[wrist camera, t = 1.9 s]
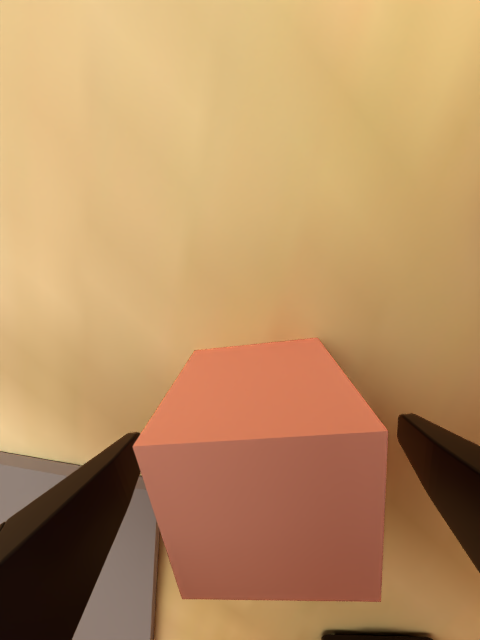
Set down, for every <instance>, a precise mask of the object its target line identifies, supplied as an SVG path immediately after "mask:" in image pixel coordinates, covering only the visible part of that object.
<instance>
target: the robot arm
mask: <svg viewBox="0 0 480 640" xmlns="http://www.w3.org/2000/svg"><path fill="white" fill-rule="evenodd" d="M139 436H140V433H139V432H133V433H128V434H126V435H125V436H123V437H122V438H120V439H119V440H118V441H116V442H115V443H113V444H112V445H111V446H109V447H108V448H106V449H105V450H104V451H102V452H101V453H99V454H98V455H97V456H95V457H94V458H92V459H91V460H90V461H88V462H87V463H85V464H84V465H83V466H81V467H80V468H78V469H77V470H76V471H74V472H73V473H71V474H70V475H69V476H67V477H66V478H64V479H63V480H62V481H60V482H59V483H57V484H56V485H55V486H53V487H52V488H50V489H49V490H48V491H46V492H45V493H43V494H42V495H41V496H39V497H38V498H36V499H35V500H34V501H32V502H31V503H29V504H28V505H27V506H25V507H24V508H22V509H21V510H20V511H18V512H17V513H15V514H14V515H13V516H11V517H10V518H8V519H7V521H6V522H3V523H1V524H0V640H72V638H73V636H74V634H75V631H76V629H77V627H78V624H79V622H80V620H81V617H82V615H83V613H84V610H85V608H86V606H87V603H88V601H89V599H90V596H91V594H92V592H93V589H94V587H95V585H96V582H97V580H98V578H99V575H100V573H101V571H102V568H103V566H104V563H105V561H106V559H107V556H108V554H109V552H110V549H111V547H112V545H113V542H114V540H115V538H116V535H117V533H118V531H119V528H120V526H121V524H122V521H123V519H124V517H125V514H126V512H127V509H128V507H129V504H130V502H131V499H132V496H133V493H134V490H135V487H136V484H137V481H138V478H139V475H140V472H141V471H140V468H139V465H138V462H137V459H136V456H135V453H134V450H133V447H132V446H133V445H134V443H135V442H136V440H137V439H138V437H139ZM397 437H398V440H399V443H400V445H401V447H402V448H403V450H404V452H405V454H406V456H407V458H408V459H409V461H410V463H411V465H412V467H413V469H414V470H415V472H416V474H417V476H418V478H419V480H420V481H421V483H422V485H423V487H424V489H425V490H426V492H427V494H428V495H429V497H430V498H431V500H432V502H433V503H434V505H435V506H436V508H437V509H438V511H439V512H440V514H441V515H442V517H443V518H444V520H445V521H446V523H447V524H448V526H449V527H450V529H451V530H452V532H453V533H454V535H455V536H456V538H457V539H458V541H459V542H460V544H461V545H462V547H463V549H464V550H465V552H466V553H467V555H468V556H469V558H470V559H471V561H472V562H473V564H474V565H475V567H476V568H477V570H478V571H479V573H480V446H478V445H476V444H474V443H472V442H470V441H468V440H466V439H464V438H462V437H460V436H458V435H456V434H454V433H452V432H450V431H448V430H446V429H444V428H442V427H440V426H438V425H436V424H434V423H432V422H430V421H428V420H426V419H424V418H422V417H420V416H418V415H415V414H401V415H399V417H398V428H397ZM321 640H433V639H431V638H428V637H397V636H361V635H324V636H323V637H322V638H321Z"/></svg>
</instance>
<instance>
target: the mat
mask: <svg viewBox="0 0 480 640" xmlns="http://www.w3.org/2000/svg"><path fill="white" fill-rule="evenodd" d="M80 467H81V466H79V465H73V464H67V463H62V462H56V461H50V460H44V459H39V458H33V457H27V456H22V455H16V454H10V453H4V452H0V524H1V523H3V522H6V521H7V519H8V518H10V517H11V516H13V515H14V514H15V513H17V512H18V511H20V510H21V509H22V508H24V507H25V506H27V505H28V504H29V503H31V502H32V501H34V500H35V499H36V498H38V497H39V496H41V495H42V494H43V493H45V492H46V491H48V490H49V489H50V488H52V487H53V486H55V485H56V484H57V483H59V482H60V481H62V480H63V479H64V478H66V477H67V476H69V475H70V474H71V473H73V472H74V471H76V470H77V469H78V468H80ZM159 534H160V530H159V526H158V523H157V520H156V517H155V514H154V511H153V508H152V505H151V502H150V499H149V496H148V493H147V490H146V487H145V483H144V480H143V477H141V476H139V478H138V481H137V484H136V487H135V490H134V493H133V496H132V499H131V502H130V504H129V507H128V509H127V512H126V514H125V517H124V519H123V521H122V524H121V526H120V528H119V531H118V533H117V535H116V538H115V540H114V542H113V545H112V547H111V549H110V552H109V554H108V556H107V559H106V561H105V563H104V566H103V568H102V571H101V573H100V575H99V578H98V580H97V582H96V585H95V587H94V589H93V592H92V594H91V596H90V599H89V601H88V603H87V606H86V608H85V610H84V613H83V615H82V617H81V620H80V622H79V624H78V627H77V629H76V631H75V634H74V636H73V638H72V640H153V638H154V620H155V603H156V586H157V569H158V551H159Z"/></svg>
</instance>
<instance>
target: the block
mask: <svg viewBox="0 0 480 640" xmlns="http://www.w3.org/2000/svg"><path fill="white" fill-rule="evenodd" d="M132 447H133V450H134V453H135V456H136V459H137V462H138V465H139V468H140V471H141V474H142V477H143V480H144V483H145V487H146V490H147V493H148V496H149V499H150V502H151V505H152V508H153V511H154V514H155V517H156V520H157V523H158V526H159V530H160V533H161V536H162V539H163V542H164V545H165V548H166V551H167V554H168V557H169V560H170V563H171V566H172V569H173V573H174V576H175V579H176V582H177V585H178V588H179V591H180V594H181V597H182V599H223V600H297V601H370V602H381V586H382V562H383V539H384V516H385V493H386V470H387V447H388V430H387V429H386V428H385V426H384V425H383V424H382V422H381V421H380V420H379V418H378V417H377V416H376V414H375V413H374V412H373V410H372V409H371V408H370V406H369V405H368V404H367V402H366V401H365V400H364V398H363V397H362V396H361V395H360V393H359V392H358V391H357V389H356V388H355V387H354V385H353V384H352V383H351V381H350V380H349V379H348V377H347V376H346V375H345V373H344V372H343V371H342V369H341V368H340V367H339V365H338V364H337V363H336V361H335V360H334V359H333V357H332V356H331V355H330V354H329V352H328V351H327V350H326V348H325V347H324V346H323V344H322V343H321V342H320V340H319V339H318V338H310V339H300V340H290V341H281V342H271V343H261V344H252V345H242V346H232V347H223V348H213V349H204V350H195V351H194V352H193V354H192V355H191V357H190V358H189V360H188V362H187V363H186V365H185V366H184V368H183V369H182V371H181V372H180V374H179V375H178V377H177V379H176V380H175V382H174V383H173V385H172V386H171V388H170V389H169V391H168V392H167V394H166V395H165V397H164V399H163V400H162V402H161V403H160V405H159V406H158V408H157V409H156V411H155V412H154V414H153V416H152V417H151V419H150V420H149V422H148V423H147V425H146V426H145V428H144V429H143V431H142V432H141V434H140V436H139V437H138V439H137V440H136V442H135V443H134V445H133V446H132Z"/></svg>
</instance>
